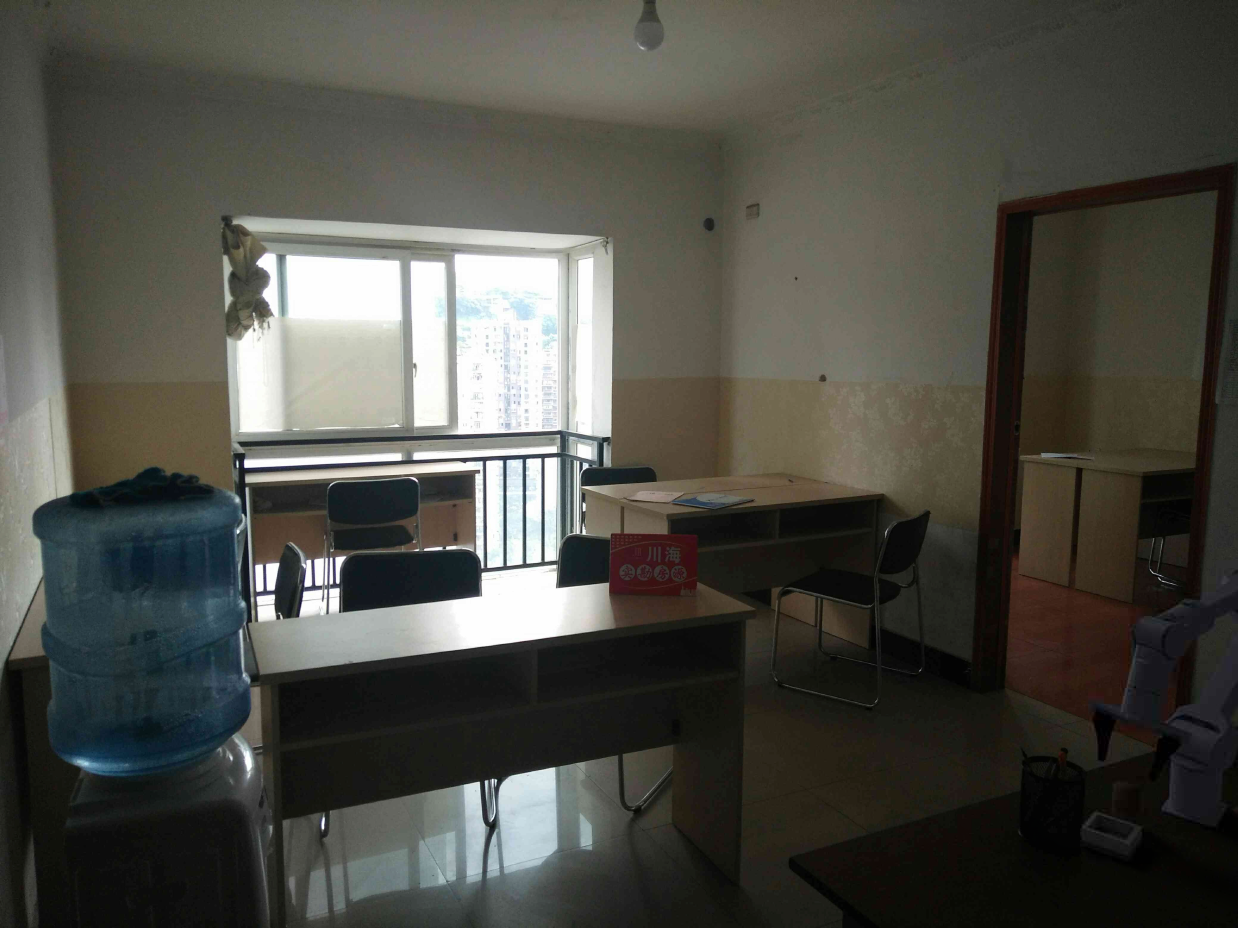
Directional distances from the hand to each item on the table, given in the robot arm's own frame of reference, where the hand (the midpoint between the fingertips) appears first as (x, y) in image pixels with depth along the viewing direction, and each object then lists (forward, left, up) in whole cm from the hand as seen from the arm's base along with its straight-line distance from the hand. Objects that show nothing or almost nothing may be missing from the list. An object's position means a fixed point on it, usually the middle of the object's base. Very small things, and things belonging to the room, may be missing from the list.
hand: (1126, 769), depth 142 cm
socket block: (+5, 0, -11) cm, 12 cm away
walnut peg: (-2, 0, -11) cm, 11 cm away
